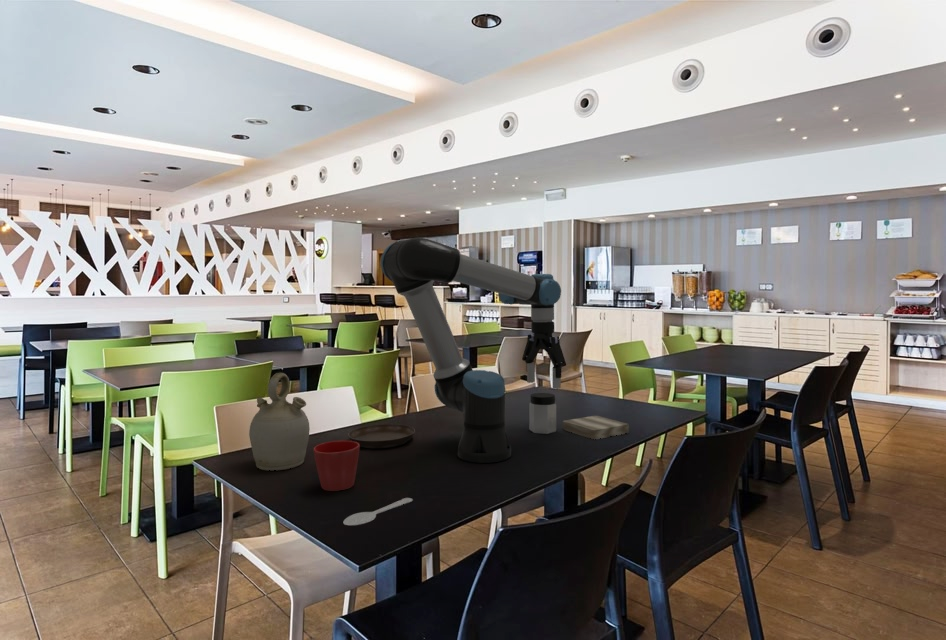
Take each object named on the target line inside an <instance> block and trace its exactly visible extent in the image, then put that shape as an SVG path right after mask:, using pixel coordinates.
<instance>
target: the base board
mask: <svg viewBox="0 0 946 640" xmlns="http://www.w3.org/2000/svg"><path fill="white" fill-rule="evenodd" d="M629 429H630V425H629V423H626V422H622V421H619V420H614V419H611V418H607V417H604V416H600V415H597V414H596V415H591V416H586V417H585V416H583V417H579V418H572V419H571V418H570V419H567V420H562V431H566V432H568V433H569V432H570V433H571V432H572V434H574V435H578V436H581V437H583V438H588V439H590V438H591V439H590V440H593V439H594V441H595V439H596V440H601V439H605V438H606V439H607V438H611V437H610V436H612V437H616V435H617V436H621V434H622V435H626V434H625V433H627V434H629ZM600 438H601V439H600Z"/></svg>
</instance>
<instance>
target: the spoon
mask: <svg viewBox="0 0 946 640" xmlns="http://www.w3.org/2000/svg"><path fill="white" fill-rule="evenodd" d="M413 501H414V499H413V498H411V497H405V498H401V499H400V500H398V501H395V502H392V503H391V504H388V505H386V506H383V507H380V508H379V509H376V510H374V511H361V512H357V513H353V514H350V515H349V516H347V517H346V518H345V519H343V523H342V524H343V525H345V526H360V525H364V524H367V523H370V522H372V521H373V520H375V519H376V518H377V515H378V514H380V513H384V512H386V511H388V510H392V509H394V508H398V507H401V506H403V504H404V505H406V504H409V503H411V502H413Z"/></svg>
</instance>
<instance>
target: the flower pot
mask: <svg viewBox="0 0 946 640" xmlns="http://www.w3.org/2000/svg"><path fill="white" fill-rule="evenodd" d="M360 448H361V447H360V445H359V443H357V442H354V441H351V440H332V441H327V442H322V443H319V444H317V445H316V446H314V447H313V455H314V460H315V461H314V462H315V466H316V471H317V475H318V479H319V483H320V487H321V489H323V490H324V491H328V492H339V491H342V490H343V491H344V490H348V489H350V488H352V487H353V486H354V485H355V480H356V474H357V471H358V462H359V456H360V455H359V454H360Z"/></svg>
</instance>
